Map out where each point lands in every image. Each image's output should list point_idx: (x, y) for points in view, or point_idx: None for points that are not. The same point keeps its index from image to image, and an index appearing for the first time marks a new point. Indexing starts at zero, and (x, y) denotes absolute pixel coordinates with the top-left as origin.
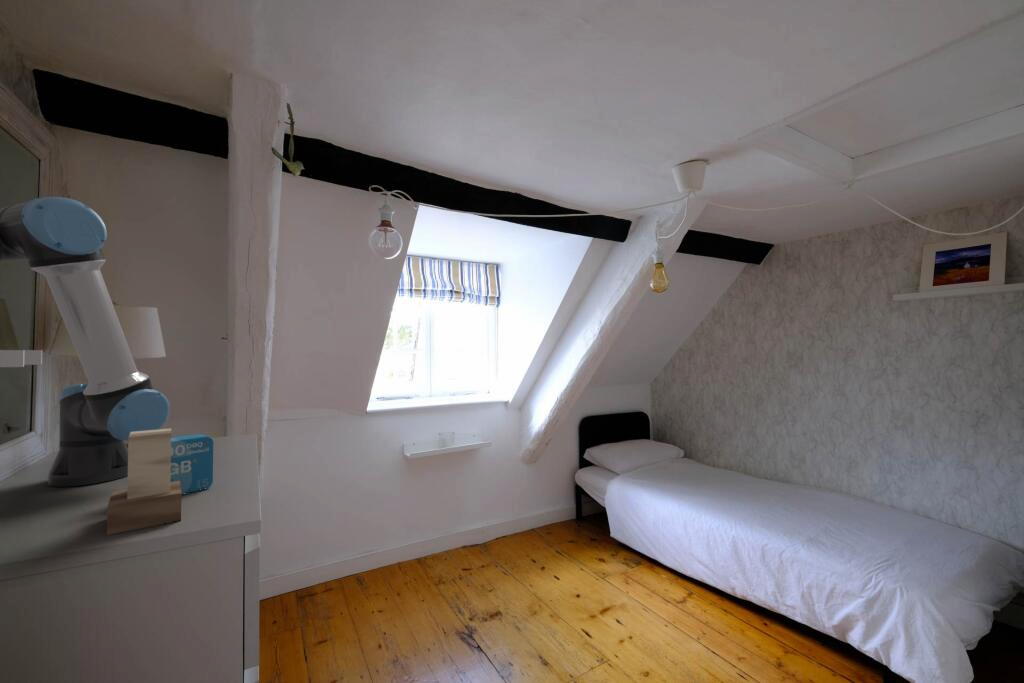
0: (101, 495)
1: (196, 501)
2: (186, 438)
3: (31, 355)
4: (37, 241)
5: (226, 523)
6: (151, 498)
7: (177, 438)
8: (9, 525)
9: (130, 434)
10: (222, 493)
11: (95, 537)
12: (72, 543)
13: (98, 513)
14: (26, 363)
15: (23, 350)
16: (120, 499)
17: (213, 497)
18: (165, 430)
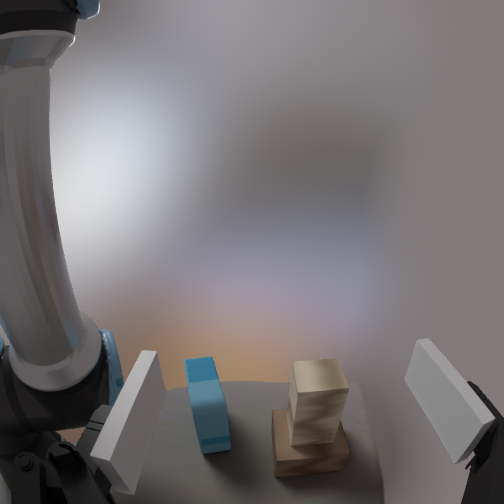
0: (146, 484)
1: (265, 417)
2: (212, 372)
3: (154, 383)
4: None
5: (357, 395)
6: (341, 424)
7: (202, 378)
8: None
9: (327, 389)
10: (250, 399)
11: (345, 476)
12: (354, 489)
13: (244, 490)
14: (157, 413)
15: (426, 339)
16: (331, 447)
17: (260, 405)
18: (310, 364)
